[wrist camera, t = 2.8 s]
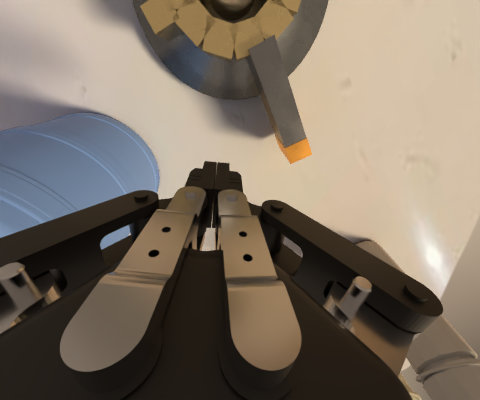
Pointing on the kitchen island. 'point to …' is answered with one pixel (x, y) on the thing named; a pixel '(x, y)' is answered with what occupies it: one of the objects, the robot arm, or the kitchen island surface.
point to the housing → (233, 73)
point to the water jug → (70, 170)
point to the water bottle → (439, 353)
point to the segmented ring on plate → (243, 55)
